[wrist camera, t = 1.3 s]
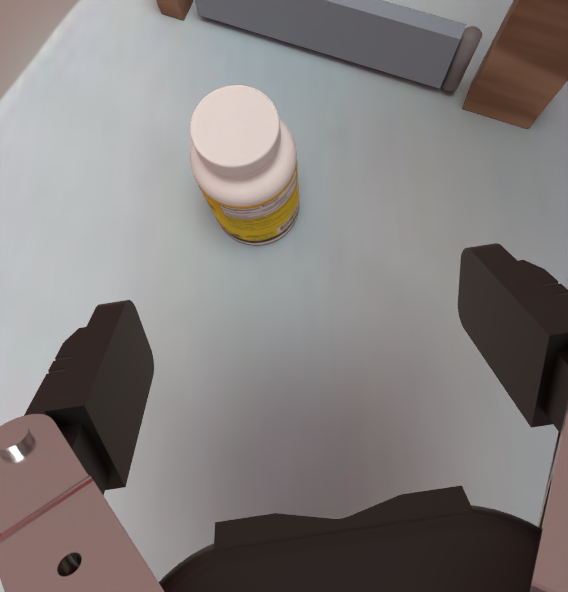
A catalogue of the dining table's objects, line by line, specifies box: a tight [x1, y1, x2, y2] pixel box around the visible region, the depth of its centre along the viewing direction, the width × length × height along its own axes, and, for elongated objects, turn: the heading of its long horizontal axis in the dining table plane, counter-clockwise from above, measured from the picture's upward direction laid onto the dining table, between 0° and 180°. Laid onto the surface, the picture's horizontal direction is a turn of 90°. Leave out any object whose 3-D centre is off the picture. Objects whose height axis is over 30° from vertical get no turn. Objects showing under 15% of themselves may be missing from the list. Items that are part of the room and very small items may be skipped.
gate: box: [195, 0, 482, 91], centre depth 34 cm, size 2×21×5 cm, turn 68°
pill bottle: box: [190, 85, 299, 245], centre depth 29 cm, size 6×6×11 cm
